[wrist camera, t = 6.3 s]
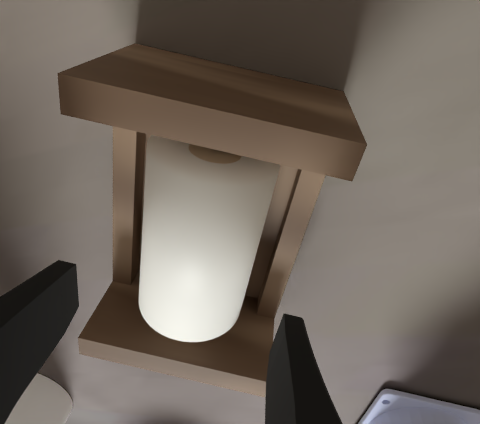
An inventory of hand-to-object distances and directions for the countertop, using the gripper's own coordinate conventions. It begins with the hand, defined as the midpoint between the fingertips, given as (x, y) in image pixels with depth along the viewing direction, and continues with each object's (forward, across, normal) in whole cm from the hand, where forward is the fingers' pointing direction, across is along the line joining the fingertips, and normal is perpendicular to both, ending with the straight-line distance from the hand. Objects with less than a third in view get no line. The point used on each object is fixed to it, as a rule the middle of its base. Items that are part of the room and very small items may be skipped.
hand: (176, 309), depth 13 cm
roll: (+4, 0, 0) cm, 4 cm away
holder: (+8, 0, 0) cm, 8 cm away
